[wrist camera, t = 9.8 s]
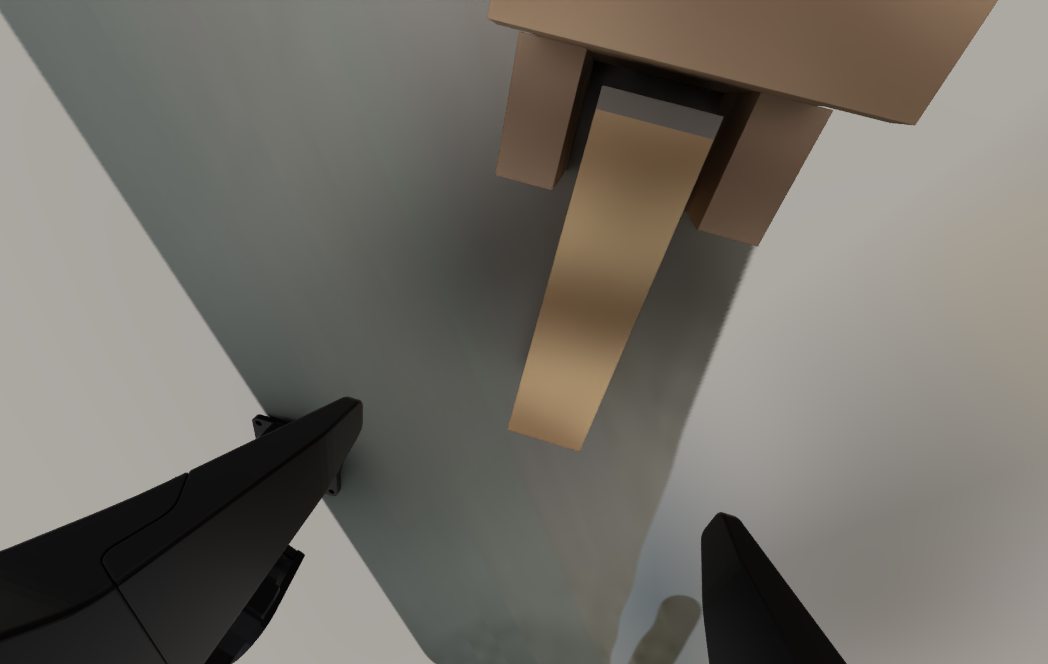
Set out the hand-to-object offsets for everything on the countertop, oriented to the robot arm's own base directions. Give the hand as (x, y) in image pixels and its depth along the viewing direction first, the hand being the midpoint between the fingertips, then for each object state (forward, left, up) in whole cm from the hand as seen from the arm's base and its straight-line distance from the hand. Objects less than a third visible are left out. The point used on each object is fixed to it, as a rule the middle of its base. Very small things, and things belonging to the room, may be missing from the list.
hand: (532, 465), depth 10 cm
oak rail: (+1, -1, -12) cm, 12 cm away
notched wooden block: (+8, -1, -12) cm, 14 cm away
